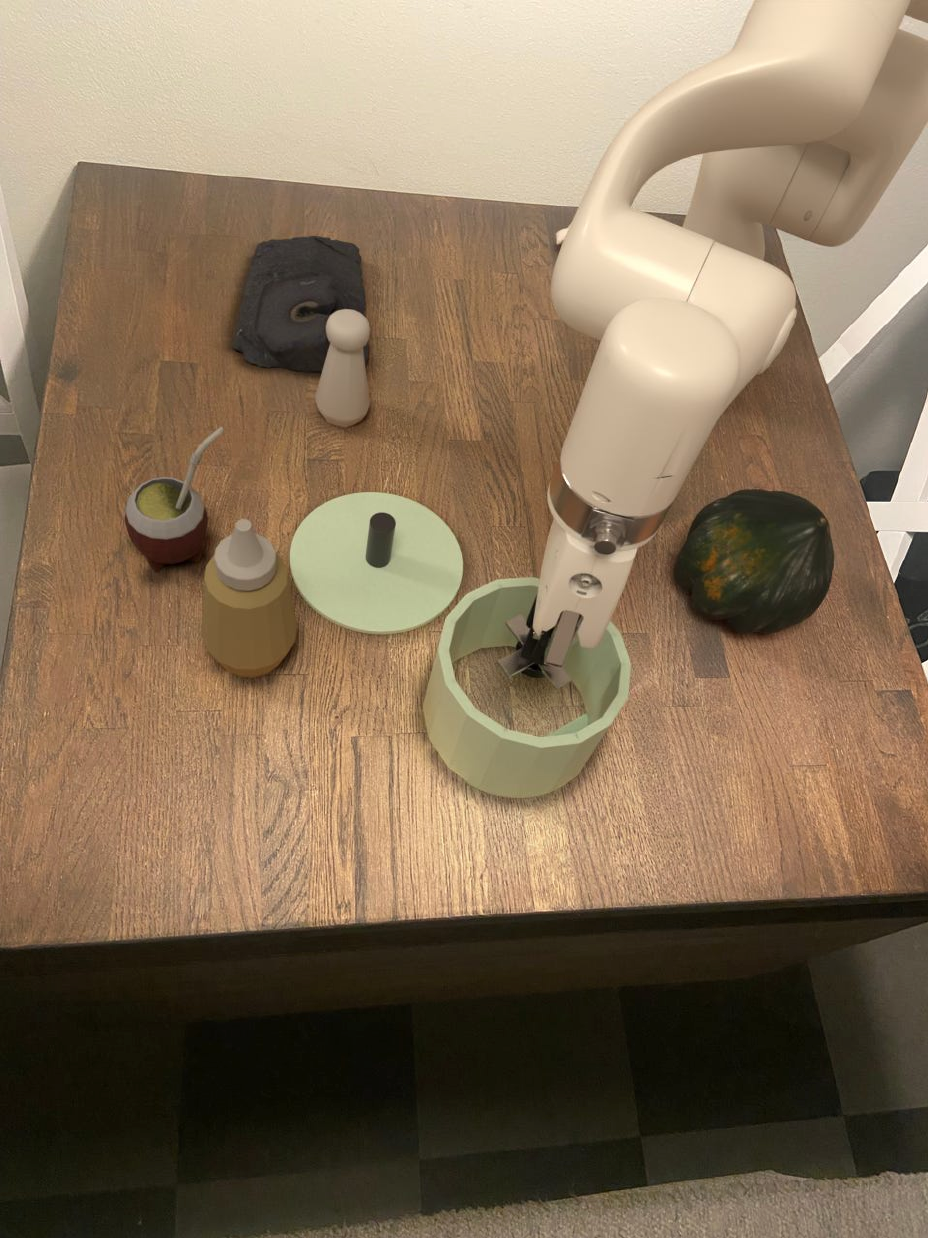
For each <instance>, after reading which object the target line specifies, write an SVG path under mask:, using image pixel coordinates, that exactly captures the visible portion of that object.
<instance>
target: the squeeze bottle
mask: <svg viewBox="0 0 928 1238" xmlns="http://www.w3.org/2000/svg"><path fill="white" fill-rule="evenodd" d="M203 577H204V578H203V592H202V593H203V595H202V610H201V612H202V613H201V614H202V615H201V632H200V635H201V638H202V641H203V644H204V647H205V649H206V651H207V652H208V653H209V654H210V655H211V656H212V657H213V658H214V659H215V660H216V662H218V664H220V665H221V666H222V668H223V669H225V670H226V671H227V672H228V673H230V674H233V675H235V676H237V677H239V678H240V677H241V678H258V677H261V676H264V675H268V674H269V673H271V672H272V671H274V670H275V669H277V667H279V665H280V664H281V663H282V661H283V660H284V659H285V658H286V656H287V655H288V653H289V651H290V650H291V648H292V647H293V645H294V644H295V642H296V640H297V639H296V637H297V626H298V625H297V618H296V612H295V606H294V599H293V594H292V593H293V592H292V587H291V582H290V576H289V570H288V568H287V566H286V564H285V561H284V559H283V558H282V556H280V555H279V554H278V553H277V552H276V549H275V547H274V544H273V543H271V541H270V540H269V539H267V538H266V537H265V536H263V535H260V534H258V533H256V532H255V530H254V527H253V523H252V522H251V521H250V520H249V519H246V518H241V519H238V520H237V521H236V522H235V525H234V528H233V533H232V534H229V535H228V536H227V537H225V538H223V539H221V540H220V542H219V543H218V545H217V546H216V547H215V549H214V554H213V555H212V556H211V558H210V559H209V561H208V562H207V564H205V571H204V576H203Z"/></svg>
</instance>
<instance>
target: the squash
mask: <svg viewBox="0 0 928 1238" xmlns="http://www.w3.org/2000/svg"><path fill="white" fill-rule="evenodd" d="M834 566H835V550H834V544H833V539H832V535H831V524H830V522H829V519H827V516H825V514H824V513H823V511H822V510H821V509H820V508H819V507H817V506H816V504H814V503H812V502H811V501H810V500H808V499H806V498H805V497H802V496H800V495H797V494H794V493H791V492H788V491H783V490H766V489H762V488H752V489H751V488H750V489H749V488H744V489H739V490H737V491H733V492H732V493H730V494H728V495H727V496H723V497H720V498H718V499H716V500H714V501H712V502H710V503H708V504H706V505H705V506H703V508H701V509H700V510H699V511H698V512H697V514H696V515H695V517H694V519H693V520H692V521H691V524H690V527H689V530H688V533H687V535H686V539H685V541H684V542H683V545H682V546H681V548H680V550H679V552H678V554H677V557H676V559H675V562H674V565H673V569H672V570H673V573H672V574H673V578H674V580H675V583H676V584H677V585H678V587H679V588H680V589H681V590H683V592H685V593H687V594H688V595H691V596H690V597H691V598H690V603H691V607H692V610H693V611H694V612H695V613H697V614H698V615H699V616H700V617H702V618H704V619H707V620H723V622H724V623H725V625H726V626H727V627H728V628H729V629H730V630H731V631H732V632H735V633H737V634H743V635H744V634H753V633H757V632H758V633H761V634H774V633H779V632H781V631H784V630H786V629H789V628H790V627H792V626H795V625H799V624H801V623H802V622H804V621H806V620H807V619H809V618H811V616H813V614H815V612H816V611H817V610H818V609H819V607H820V606H821V605H822V603H823V602H824V600H825V598H826V597H827V594H828V592H829V590H830V587H831V583H832V578H833V570H834Z"/></svg>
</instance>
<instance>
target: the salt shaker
mask: <svg viewBox="0 0 928 1238" xmlns="http://www.w3.org/2000/svg"><path fill="white" fill-rule="evenodd" d="M326 334H327V338H328V340H329V342H330V346H329V349H328V353H327V356H326V360H325V363H324V367H323V371H322V373H320V374H321V375H320V377H319V381H318V384H317V388H316V391H315V392H316V393H315V395H314V398H315V399H314V400H315V403H316V407H317V411H318V412H319V413H320V414H321V415H322V417H323V418H324V419H325V421H326V422H327V424H329V425H333V426H335V427H340V428H341V427H342V428H344V429H347V428H349V427H351V426H355V425H356V424H357V423H360V422H362V420H363V419H364V418H365V416H367V414H368V411H369V408H370V405H371V397H370V390H369V389H370V388H369V383H368V375H367V368H366V365H365V361H364V352H363V347H364V346H365V345H366V344H367V342H368V343H369V339H370V336H371V327H370V322H369V319H368V318H367V317H366V318H365V317H364V316H363V315H362V314H361V313H359V312H357V311H355V310H350V309H343V310H338V311H336V312H334V313H333V314H331V315H330V317H329V319H328V321H327V324H326Z"/></svg>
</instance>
